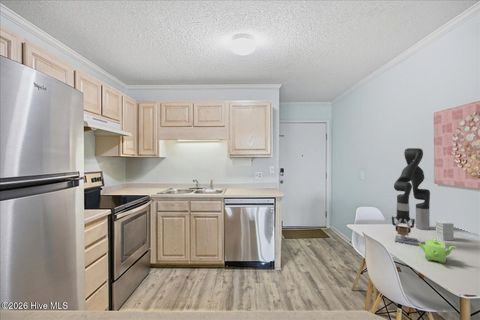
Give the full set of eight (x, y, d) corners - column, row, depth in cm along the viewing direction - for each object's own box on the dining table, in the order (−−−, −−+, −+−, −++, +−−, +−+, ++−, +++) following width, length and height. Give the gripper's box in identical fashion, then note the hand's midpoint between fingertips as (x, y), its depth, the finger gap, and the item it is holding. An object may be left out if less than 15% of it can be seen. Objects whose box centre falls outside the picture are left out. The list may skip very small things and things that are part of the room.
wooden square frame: (397, 231, 175) (397, 225, 175) (408, 233, 172) (408, 227, 171) (397, 234, 170) (397, 228, 170) (408, 235, 166) (408, 229, 166)
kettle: (434, 253, 149) (435, 236, 149) (458, 264, 135) (458, 244, 135) (413, 255, 147) (413, 237, 147) (435, 266, 133) (435, 246, 133)
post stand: (395, 236, 180) (395, 226, 179) (417, 240, 172) (417, 229, 172) (395, 242, 169) (395, 230, 169) (417, 246, 162) (417, 234, 161)
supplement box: (446, 237, 178) (446, 220, 177) (453, 240, 170) (453, 223, 170) (435, 236, 178) (435, 220, 178) (442, 240, 171) (442, 223, 171)
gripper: (415, 209, 169) (415, 232, 170) (391, 207, 178) (391, 229, 178) (415, 211, 163) (415, 235, 164) (390, 209, 172) (390, 231, 172)
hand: (402, 232), depth 171 cm, fingers closed on wooden square frame, 6 cm apart
